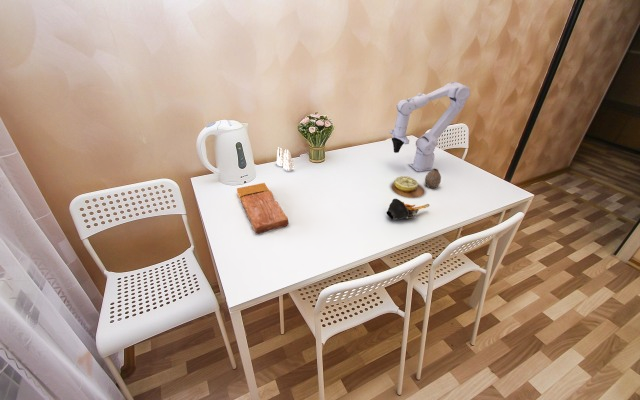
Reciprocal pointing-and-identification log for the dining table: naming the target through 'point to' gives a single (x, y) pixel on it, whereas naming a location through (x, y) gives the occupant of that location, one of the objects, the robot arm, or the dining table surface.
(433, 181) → the vase
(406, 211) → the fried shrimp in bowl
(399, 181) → the decorated donut
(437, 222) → the dining table surface
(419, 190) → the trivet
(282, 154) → the shaker set
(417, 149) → the robot arm
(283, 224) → the brown wooden board
